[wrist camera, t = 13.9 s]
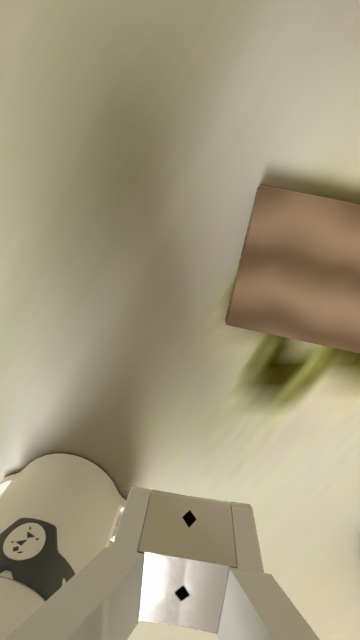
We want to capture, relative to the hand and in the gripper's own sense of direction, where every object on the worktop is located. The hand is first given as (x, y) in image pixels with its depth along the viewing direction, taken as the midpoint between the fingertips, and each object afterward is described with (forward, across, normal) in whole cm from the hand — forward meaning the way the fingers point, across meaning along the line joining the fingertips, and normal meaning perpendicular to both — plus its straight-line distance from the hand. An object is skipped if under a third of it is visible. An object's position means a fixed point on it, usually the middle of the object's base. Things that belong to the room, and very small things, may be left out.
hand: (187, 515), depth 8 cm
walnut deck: (+27, -11, -5) cm, 30 cm away
